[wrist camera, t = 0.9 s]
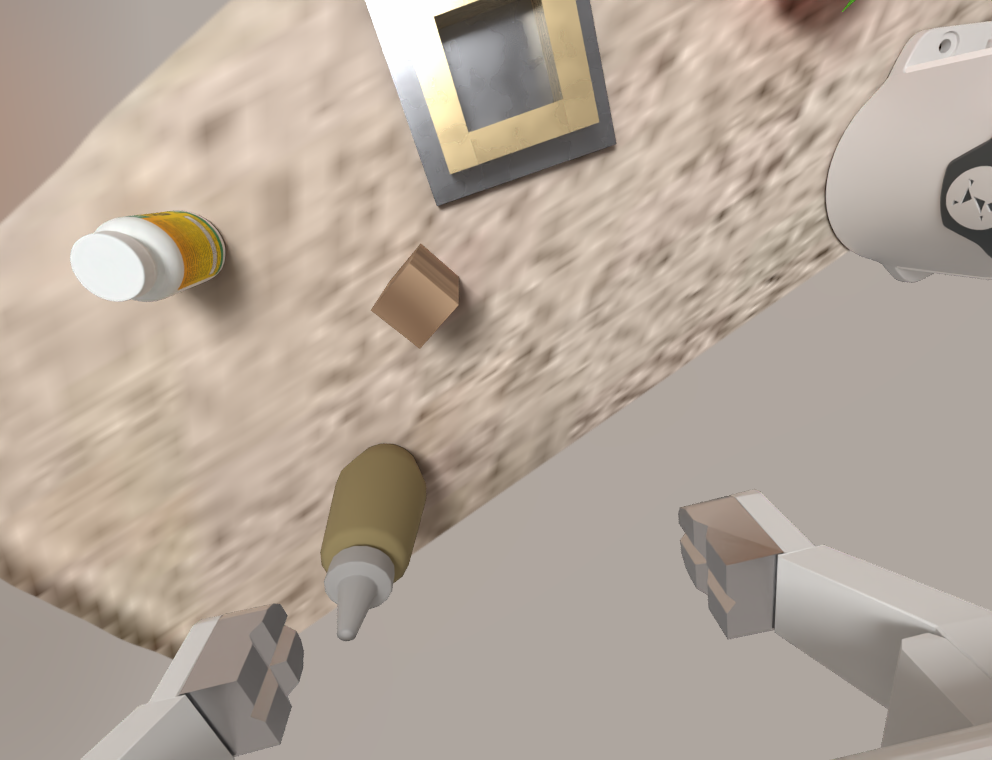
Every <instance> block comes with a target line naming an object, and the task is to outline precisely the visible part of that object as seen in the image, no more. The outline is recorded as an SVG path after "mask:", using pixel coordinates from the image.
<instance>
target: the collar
mask: <svg viewBox="0 0 992 760" xmlns="http://www.w3.org/2000/svg"><path fill="white" fill-rule="evenodd" d="M365 1H366V4H367V7H368V10H369V12H370V15H371V18H372V21H373V24H374V27H375V30H376V33H377V35H378V38H379V41H380V44H381V47H382V50H383V53H384V56H385V58H386V61H387V64H388V67H389V70H390V73H391V76H392V79H393V81H394V84H395V87H396V90H397V93H398V96H399V99H400V101H401V104H402V107H403V110H404V113H405V116H406V119H407V122H408V124H409V127H410V130H411V133H412V136H413V139H414V142H415V145H416V147H417V150H418V153H419V156H420V159H421V162H422V165H423V168H424V170H425V173H426V176H427V179H428V182H429V185H430V188H431V191H432V193H433V196H434V199H435V202H436V205H437V206H439V205H442V204H445V203H447V202H450V201H453V200H456V199H459V198H462V197H465V196H468V195H471V194H473V193H476V192H479V191H482V190H485V189H488V188H491V187H494V186H497V185H499V184H502V183H505V182H508V181H511V180H514V179H517V178H520V177H523V176H525V175H528V174H531V173H534V172H537V171H540V170H543V169H546V168H549V167H551V166H554V165H557V164H560V163H563V162H566V161H569V160H572V159H575V158H577V157H580V156H583V155H586V154H589V153H592V152H595V151H598V150H601V149H603V148H606V147H609V146H612V145H615V144H616V139H615V134H614V129H613V123H612V118H611V112H610V107H609V102H608V96H607V91H606V86H605V80H604V75H603V70H602V64H601V59H600V53H599V48H598V43H597V37H596V32H595V27H594V21H593V16H592V10H591V5H590V0H365Z"/></svg>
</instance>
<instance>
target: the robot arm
mask: <svg viewBox="0 0 992 760" xmlns="http://www.w3.org/2000/svg"><path fill="white" fill-rule="evenodd" d="M940 43H941V50H940V52H939V45H940ZM826 206H827V212H828V217H829V220H830V223H831V226H832V228H833V230H834V232H835V234H836V236H837V237H838V238H839V240H840V241H841V242H842V243H843V244H844V245H845V246H846V247H847V248H848V249H849V250H851V251H852V252H854V253H856V254H858V255H860V256H862V257H865V258H868V259H872V260H875V261H877V262H879V263H881V264H883V266H884V267H885V268H886V269H887V271H888V272H889V273H890V274H891V275H892V276H893V277H894V278H895V279H896V280H898V281H902V282H911V283H912V282H917V281H920V280H922V279H924V278H926V277H928V276H930V275H932V274H934V273H938V274H947V275H954V276H962V277H970V278H978V279H988V280H992V21H988V22H979V23H971V24H963V25H955V26H946V27H938V28H932V29H926V30H922V31H919V32H917V33H916V34H914V35H913V36H912V37H911V38H910V39H909V41H908V42H907V43H906V45H905V46H904V48H903V50H902V51H901V53H900V55H899V57H898V59H897V61H896V63H895V65H894V67H893V69H892V71H891V73H890V75H889V77H888V78H887V80H886V81H885V82H884V84H883V85H882V86H881V87H880V88H879V89H878V91H877V92H876V93H875V94H874V95H873V96H872V97H871V98H870V99H869V100H868V101H867V102H866V103H865V104H864V106H863V107H862V108H861V109H860V110H859V112H858V113H857V114H856V115H855V117H854V118H853V120H852V121H851V123H850V124H849V126H848V127H847V129H846V130H845V132H844V134H843V136H842V138H841V140H840V142H839V144H838V146H837V148H836V151H835V153H834V156H833V159H832V162H831V165H830V169H829V173H828V179H827V186H826ZM678 515H679V524H680V526H681V527H682V529H683V530H684V532H685V534H684V536H683V537H682V539H681V540H680V543H681V553H682V556H683V560H684V563H685V567H686V569H687V571H688V574H689V576H690V578H691V580H692V581H693V583H694V585H695V587H696V588H697V589H698V590H700V591H702V592H703V593H705V594H707V595H708V605H709V610H710V611H711V613H712V614H713V616H714V618H715V619H716V621H717V623H718V624H719V626H720V628H721V629H722V631H723V633H724V634H725V635H726V637H727V639H732V638H737V637H742V636H747V635H752V634H757V633H762V632H767V631H771V630H775V633H776V634H778V635H779V636H781V637H782V638H784V639H785V640H786V641H788V642H789V643H791V644H792V645H794V646H795V647H797V648H798V649H800V650H801V651H803V652H804V653H806V654H807V655H809V656H810V657H811V658H813V659H815V660H816V661H817V662H819V663H820V664H822V665H823V666H825V667H826V668H828V669H829V670H831V671H832V672H834V673H835V674H837V675H838V676H840V677H841V678H842V679H844V680H845V681H847V682H848V683H850V684H851V685H853V686H854V687H856V688H857V689H859V690H860V691H862V692H863V693H865V694H866V695H868V696H869V697H871V698H872V699H873V700H875V701H876V702H878V703H879V704H881V705H882V706H884V707H885V708H887V709H888V713H887V718H886V723H885V728H884V734H883V738H882V743H881V748H878V749H874V750H870V751H866V752H861V753H857V754H853V755H849V756H845V757H840V758H836V759H832V760H992V611H990V610H988V609H985V608H983V607H980V606H978V605H975V604H972V603H970V602H968V601H965V600H963V599H960V598H958V597H955V596H952V595H950V594H947V593H945V592H942V591H940V590H937V589H935V588H932V587H930V586H927V585H925V584H922V583H920V582H917V581H914V580H912V579H910V578H907V577H904V576H902V575H900V574H897V573H894V572H892V571H890V570H887V569H884V568H882V567H879V566H877V565H874V564H872V563H869V562H867V561H864V560H862V559H859V558H857V557H854V556H852V555H849V554H846V553H844V552H841V551H839V550H836V549H834V548H831V547H829V546H826V545H819V546H815V545H814V544H813V543H812V542H811V541H810V540H809V539H808V538H807V537H806V536H805V535H804V534H803V533H802V532H801V531H800V530H799V529H798V528H797V527H796V526H794V524H792V522H791V521H790V520H789V519H787V518H786V517H785V515H783V513H781V512H780V511H779V510H778V509H777V508H776V507H775V506H774V505H773V504H772V503H771V502H770V501H769V500H768V499H767V498H766V497H765V496H764V495H763V494H762V493H761V492H760V491H758V490H756V489H752V490H748V491H744V492H740V493H736V494H733V495H729V496H725V497H721V498H717V499H713V500H709V501H705V502H701V503H697V504H692V505H689V506H684V507H681V508H680V510H679V514H678ZM287 616H288V615H287V614H286V612H285V611H284V609H283V608H282V606H281V604H269V605H264V606H259V607H255V608H250V609H245V610H240V611H235V612H231V613H226V614H224V615H219V616H214V617H209V618H204V619H201V620H200V621H198V622H197V623H196V624H194V625H193V627H192V628H191V630H190V632H189V633H188V635H187V637H186V639H185V640H184V642H183V644H182V645H181V647H180V649H179V651H178V652H177V654H176V656H175V657H174V659H173V661H172V663H171V665H170V666H169V668H168V670H167V671H166V673H165V675H164V676H163V678H162V680H161V682H160V683H159V685H158V687H157V688H156V690H155V692H154V694H153V696H152V697H151V699H150V701H149V702H148V703H147V704H143V705H140V706H138V707H137V708H136V709H135V710H134V711H133V712H132V713H131V714H129V715H128V716H127V717H126V718H125V719H124V720H123V721H122V722H121V723H120V724H119V725H117V726H116V727H115V728H114V729H113V730H112V731H111V732H110V733H109V734H108V735H107V736H105V737H104V738H103V739H102V740H101V741H100V742H99V743H98V744H97V745H96V746H95V747H93V748H92V749H91V750H90V751H89V752H88V753H87V754H86V755H85V756H84V757H82V758H81V759H80V760H234V757H236V756H239V755H243V754H247V753H251V752H254V751H258V750H262V749H265V748H269V747H273V746H277V745H280V744H281V741H282V737H283V734H284V731H285V727H286V724H287V721H288V718H289V714H290V711H291V708H292V706H291V704H290V701H289V698H288V695H289V694H290V693H291V691H292V690H293V689H294V688H295V687H296V686H297V684H298V683H299V681H300V677H301V674H302V670H303V657H304V650H303V646H302V642H301V639H300V637H299V635H298V633H297V631H295V630H293V629H291V628H289V627H288V626H286V625H284V624H285V621H286V619H287Z"/></svg>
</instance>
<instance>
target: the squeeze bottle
mask: <svg viewBox="0 0 992 760" xmlns="http://www.w3.org/2000/svg"><path fill="white" fill-rule="evenodd" d="M425 501H426V483H425V481H424V479H423V477H422V474H421V472H420V470H419V468H418V466H417V464H416V462H415V460H414V458H413V456H412V455H411V454H410V453H409V452H408V451H406V450H405V449H404V448H402V447H399V446H396V445H393V444H378V445H375V446H372V447H369V448H368V449H366V450H365V451H364V452H363V453H362V454H360V455H359V456H358V457H357V458H355V459H354V460H353V461H352V462H351V463H349V464H348V465H347V466H346V467H345V468H344V469H343V470H342V471H341V473H340V475H339V478H338V480H337V482H336V486H335V490H334V494H333V499H332V503H331V508H330V512H329V517H328V521H327V525H326V530H325V534H324V539H323V543H322V548H321V552H320V553H321V562H322V566H323V568H324V569H325V571H326V572H327V574H326V577H325V580H324V585H325V592H326V593H327V595H328V596H329V598H330V599H331V600H332V601H333V602H335V603H336V604H338V609H337V611H338V612H337V636H338V638H339V639H341V640H343V641H350V640H353V639H354V638H355V637H356V635H357V633H358V630H359V628H360V626H361V624H362V622H363V620H364V618H365V616H366V614H367V612H368V610H369V609H371V608H374V607H377V606H379V605H381V604H382V603H383V602H384V601H386V600H387V599H388V597H389V595H390V593H391V592H392V588H393V583H394V582H396V581H397V580H398V579H400V578H401V577H402V576H403V574H404V572H405V570H406V569H407V567H408V565H409V562H410V558H411V554H412V550H413V547H414V543H415V539H416V535H417V531H418V528H419V524H420V520H421V516H422V513H423V509H424V505H425Z"/></svg>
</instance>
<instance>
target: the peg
mask: <svg viewBox="0 0 992 760" xmlns="http://www.w3.org/2000/svg"><path fill="white" fill-rule="evenodd" d="M458 305H459V276H457V275H456V274H455V273H454V272H453V271H452V270H450V269H449V268H448V267H447V266H446V265H445V264H444V263H442V262H441V261H440V260H439V259H438V258H437V257H436V256H434V255H433V254H432V253H431V252H430V251H429V250H428V249H426V248H425V247H424V246H423V245H422V244H420V245H419V246H418V247H417V249H416V250H415V251H414V252H413V253H412V255H411V256H410V257H409V258H408V260H407V261H406V262H405V263H404V264H403V266H402V267H401V268H400V269H399V271H398V272H397V273H396V274H395V275H394V277H393V278H392V279H391V280H390V282H389V283H388V285H387V286H386V288H385V289H384V291H383V292H382V294H381V295H380V297H379V298H378V300H377V302H376V303H375V305H374V306H373V308H372V309H371V311H372V312H374V313H375V314H376V315H377V316H379V317H380V318H381V319H382V320H384V321H385V322H386V323H388V324H389V325H390V326H391V327H393V328H394V329H395V330H397V331H398V332H399V333H400V334H402V335H403V336H404V337H405V338H407V339H408V340H409V341H411V342H412V343H413V344H414V345H416V346H417V347H418V348H421V347H422V346H423V345H424V343H425V342H426V341H427V340H428V339H429V338H430V337H431V336H432V334H433V333H434V332H435V331H436V330H437V329H438V328H439V326H440V325H441V324H442V323H443V322H444V321H445V320H446V319H447V317H448V316H449V315H450V314H451V313H452V312H453V311H454V310H455V308H456V307H457V306H458Z"/></svg>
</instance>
